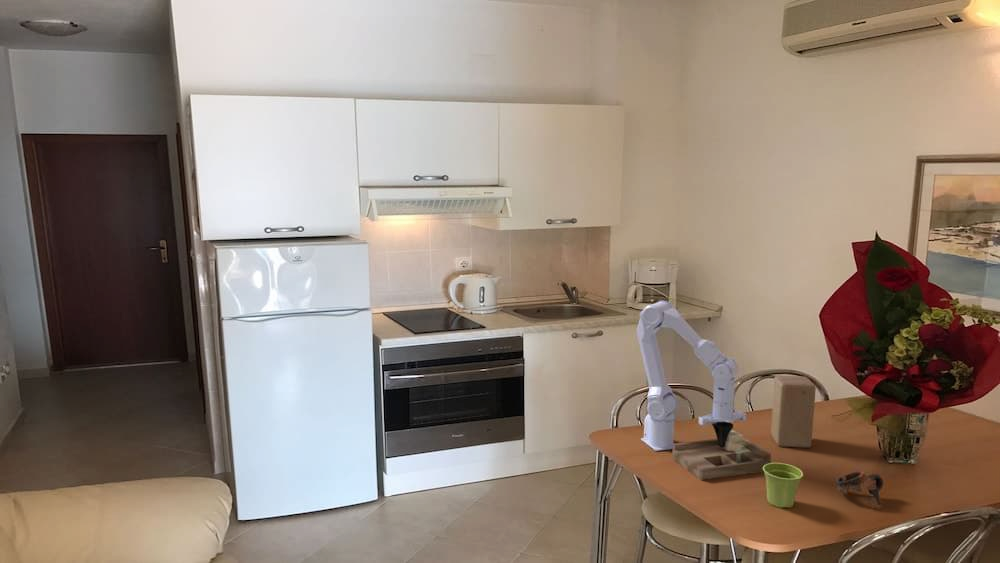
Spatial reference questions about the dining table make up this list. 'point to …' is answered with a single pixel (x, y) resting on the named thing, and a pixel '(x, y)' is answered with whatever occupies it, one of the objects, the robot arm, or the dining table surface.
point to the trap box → (719, 458)
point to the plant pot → (781, 483)
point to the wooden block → (793, 411)
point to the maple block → (733, 441)
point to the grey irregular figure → (859, 477)
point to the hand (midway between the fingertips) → (721, 446)
